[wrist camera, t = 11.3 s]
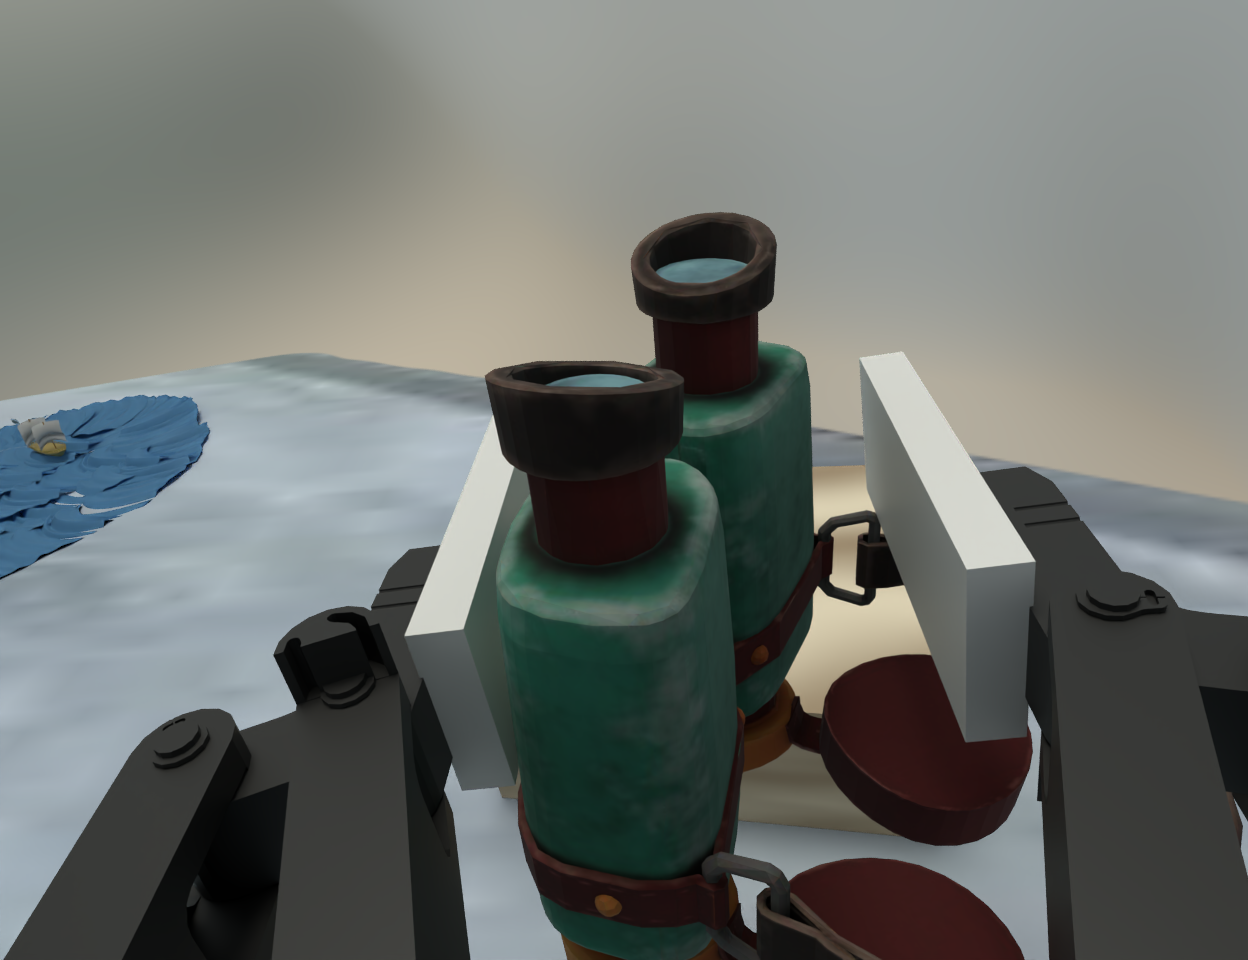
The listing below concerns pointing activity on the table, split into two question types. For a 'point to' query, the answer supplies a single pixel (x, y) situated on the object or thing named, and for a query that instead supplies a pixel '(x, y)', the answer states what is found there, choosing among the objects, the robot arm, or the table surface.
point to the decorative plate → (88, 468)
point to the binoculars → (712, 646)
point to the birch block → (827, 670)
